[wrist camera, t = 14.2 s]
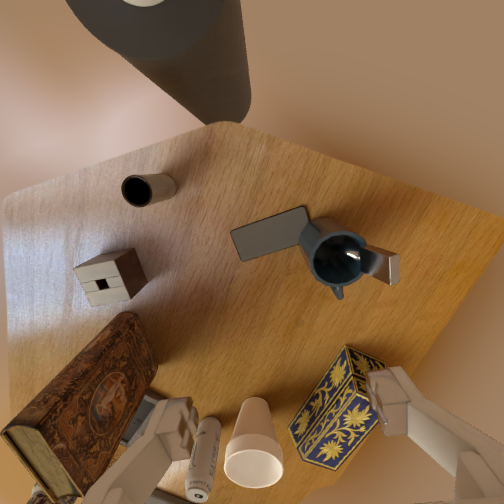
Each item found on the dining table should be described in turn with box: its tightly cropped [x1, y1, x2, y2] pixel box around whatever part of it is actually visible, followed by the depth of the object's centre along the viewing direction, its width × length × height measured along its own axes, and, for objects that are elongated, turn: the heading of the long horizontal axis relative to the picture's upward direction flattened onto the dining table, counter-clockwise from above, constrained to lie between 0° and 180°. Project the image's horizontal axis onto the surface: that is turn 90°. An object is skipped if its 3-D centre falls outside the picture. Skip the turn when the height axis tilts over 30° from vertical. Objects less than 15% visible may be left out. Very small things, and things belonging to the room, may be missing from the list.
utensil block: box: [73, 248, 148, 307], centre depth 46 cm, size 8×8×7 cm
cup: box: [224, 397, 284, 488], centre depth 54 cm, size 12×12×14 cm
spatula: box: [321, 239, 399, 285], centre depth 38 cm, size 4×1×17 cm, turn 12°
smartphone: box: [230, 206, 309, 262], centre depth 46 cm, size 7×1×15 cm
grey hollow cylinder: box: [121, 174, 176, 207], centre depth 39 cm, size 4×4×10 cm
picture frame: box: [119, 390, 167, 448], centre depth 62 cm, size 16×2×21 cm
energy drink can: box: [185, 417, 222, 503], centre depth 56 cm, size 6×6×15 cm
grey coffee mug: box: [299, 217, 367, 300], centre depth 41 cm, size 13×9×11 cm
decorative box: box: [287, 345, 386, 471], centre depth 55 cm, size 11×30×9 cm, turn 157°
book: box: [0, 312, 158, 503], centre depth 44 cm, size 16×6×25 cm, turn 11°
